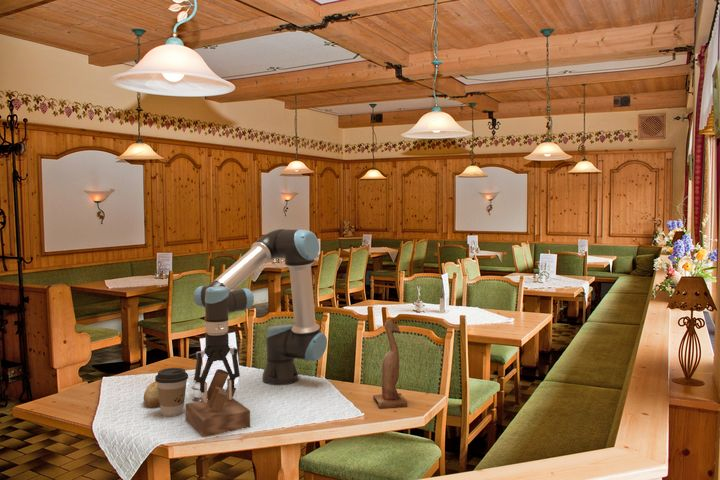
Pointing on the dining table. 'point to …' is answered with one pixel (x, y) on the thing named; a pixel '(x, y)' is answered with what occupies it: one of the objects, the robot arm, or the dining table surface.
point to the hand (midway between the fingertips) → (217, 399)
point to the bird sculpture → (390, 373)
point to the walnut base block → (217, 417)
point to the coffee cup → (171, 390)
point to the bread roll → (152, 395)
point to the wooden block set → (218, 390)
